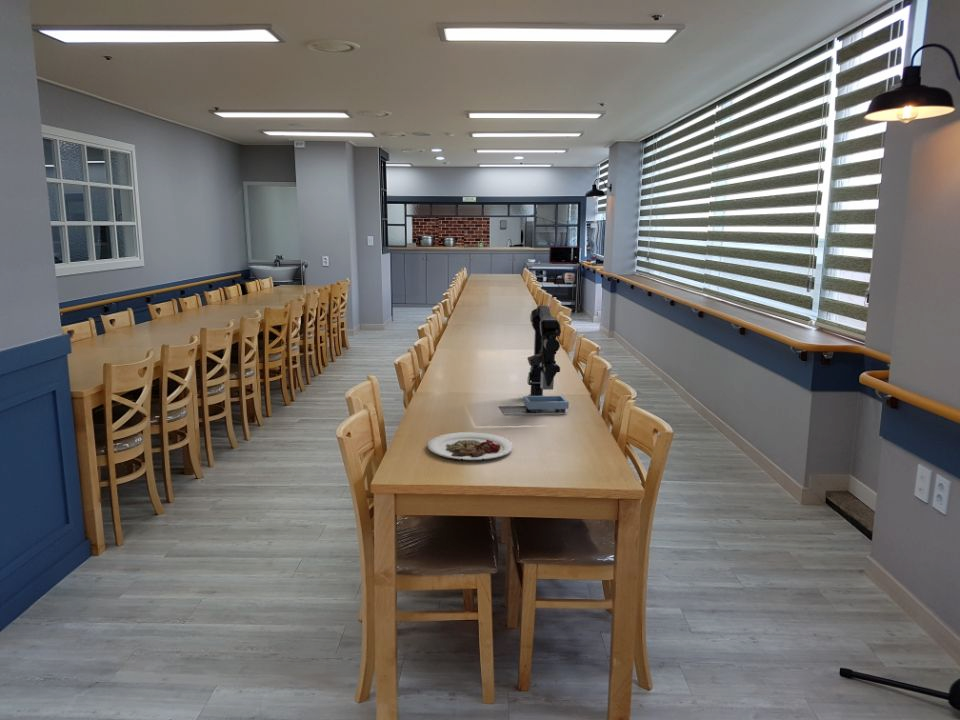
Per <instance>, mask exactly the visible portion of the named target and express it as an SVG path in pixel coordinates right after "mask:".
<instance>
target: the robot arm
mask: <svg viewBox="0 0 960 720" xmlns="http://www.w3.org/2000/svg"><path fill="white" fill-rule="evenodd" d="M529 319H530V320H529V321H530V323H531V327H532V329H533V330H534V340H533V341H534V343H533V344H534V346H533V347H534V349H533V355H531V356H528V357H527V358H526V359H527V362H528V364H529V366H530V367H529V368H530V369H529V371H528V375H527V378H526V379H527V385H528V386H530V391H529V392H530V393H529V394H528V395H527V396H544V390H543V389H542V388H541V387H540V384H541V371H543V372H544V373H545V375H546V383H547V386H550V384H551V382H552V380H553V378H555V377H556V374H557V373H560V372H561V367H560V366H559V365H558V364H557V362H556V360H555V359H556V354H557V352H558V351H559V349H560V347H561V343H560V341H559V340H558V339H557V337H560V336H561V333H562V330H561V324H560V321H559V320H558V319H557V317H555V316H552V313H551V311H550V307H549V305H538V306H536V308H534V309H533V310H531V313H530V315H529Z"/></svg>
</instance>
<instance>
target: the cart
mask: <svg viewBox="0 0 960 720" xmlns="http://www.w3.org/2000/svg"><path fill="white" fill-rule="evenodd" d="M522 399H523V402H522V403H523V405H525V406H526V407H527V408H528V409H530V412H531V413H535V409H560V411H561V412H566V411H567V410H569V408H570V407H569V405H570V402H569V401H568V399H566V398H565V397H564V396H563V395H543V396H528V395H523V398H522Z"/></svg>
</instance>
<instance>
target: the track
mask: <svg viewBox="0 0 960 720" xmlns="http://www.w3.org/2000/svg"><path fill="white" fill-rule="evenodd" d="M498 409H499V410H500V412H501V413H502V415H503V416H537V415H538V416H539V415H541V416H543V415H545V416H546V415H549V416H550V415H551V416H552V415H553V416H554V415H568V414H569V413H568V411H567V412H566V411H565V412H561V411H560V409H535V413H531V412H530V409H528V408H527V407H526V406H525V404H523V405H498Z"/></svg>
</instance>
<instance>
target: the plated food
mask: <svg viewBox="0 0 960 720" xmlns="http://www.w3.org/2000/svg"><path fill="white" fill-rule="evenodd" d="M427 448H428V450H429V451H431V452H432V453H433V454H434V455H437V456H441V457H444V458H449V459H456V460H461V459H463V461H479V460H481V461H482V459H484V460H492V459H496V458H500V457H504V456H505V455H509V453H511V452H512V451H513V449H514V445H513V443H512V441H510V440H508V439H507V438H506V437H502V436H500V435H496V434H491V433H485V432H473V431H464V432H463V431H462V432H461V431H460V432H451V433H445V434H441V435H437V436H435V437H433V438H431V439H430V440H428V441H427Z"/></svg>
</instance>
